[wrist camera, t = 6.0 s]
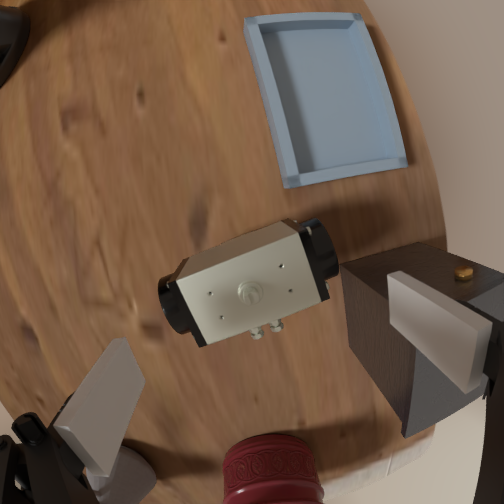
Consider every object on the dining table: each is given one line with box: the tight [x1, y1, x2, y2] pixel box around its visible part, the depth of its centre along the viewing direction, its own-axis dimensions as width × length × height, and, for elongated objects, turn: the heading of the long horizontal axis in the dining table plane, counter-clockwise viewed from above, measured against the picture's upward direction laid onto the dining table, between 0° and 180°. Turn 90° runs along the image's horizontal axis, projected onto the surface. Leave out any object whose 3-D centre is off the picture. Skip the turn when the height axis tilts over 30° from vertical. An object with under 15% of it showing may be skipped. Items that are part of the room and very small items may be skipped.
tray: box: [243, 12, 408, 188], centre depth 24 cm, size 17×12×3 cm
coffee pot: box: [86, 445, 156, 504], centre depth 25 cm, size 21×12×15 cm, turn 12°
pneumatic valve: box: [158, 218, 339, 348], centre depth 22 cm, size 6×12×12 cm, turn 111°
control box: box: [339, 242, 504, 439], centre depth 23 cm, size 11×11×15 cm
